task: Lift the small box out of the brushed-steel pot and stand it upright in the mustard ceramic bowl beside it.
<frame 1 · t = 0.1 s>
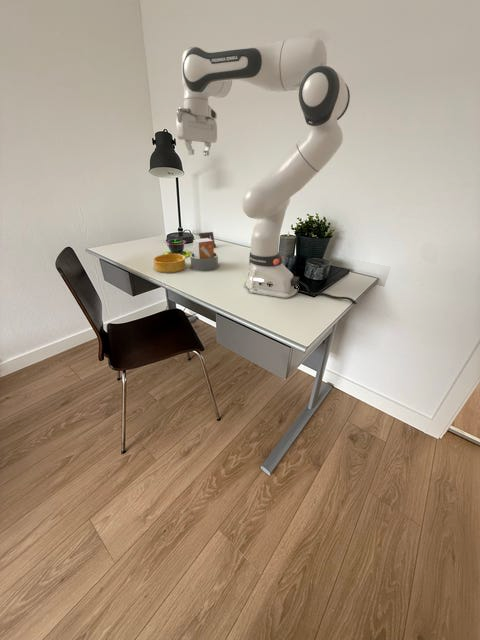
hand: (199, 155, 104), 48 cm above the table, tool pointing down, fingers open, 8 cm apart
pot: (204, 266, 135), on the table
small box: (204, 266, 135), resting on pot
bowl: (170, 268, 133), on the table
tablet stand: (207, 246, 168), on the table
toy cauldron: (177, 254, 153), on the table
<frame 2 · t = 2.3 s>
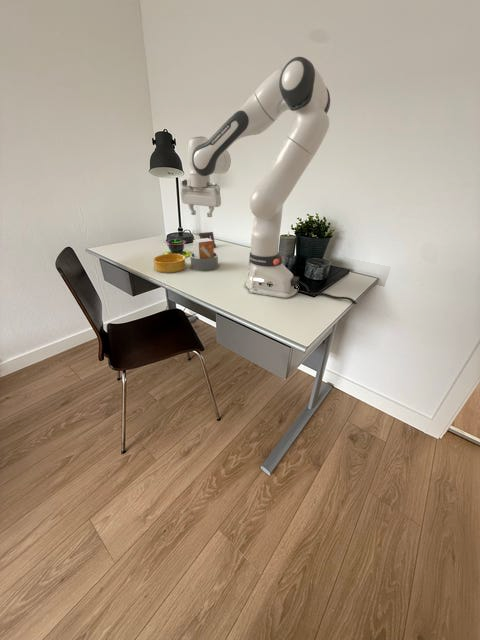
hand: (201, 215, 122), 24 cm above the table, tool pointing down, fingers open, 8 cm apart
nothing on the table moved.
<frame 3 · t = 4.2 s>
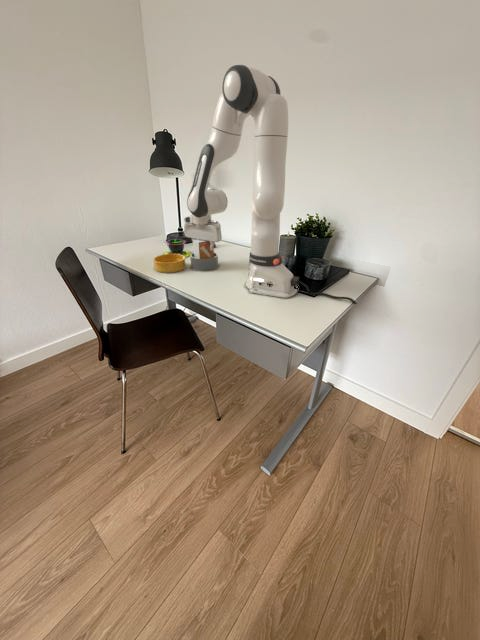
hand: (203, 248, 130), 9 cm above the table, tool pointing down, fingers closed on small box, 7 cm apart
small box: (204, 266, 135), resting on pot, touching gripper
everything else where it was.
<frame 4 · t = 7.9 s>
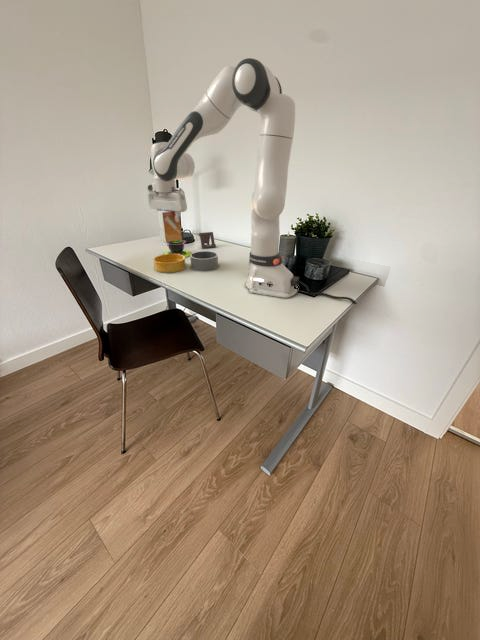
hand: (169, 220, 122), 22 cm above the table, tool pointing down, fingers closed on small box, 7 cm apart
small box: (171, 240, 126), point 13 cm above the table, touching gripper
everything else where it was.
when the fingers open (9 cm above the table, at t = 11.5 s): small box stays where it is, resting on bowl.
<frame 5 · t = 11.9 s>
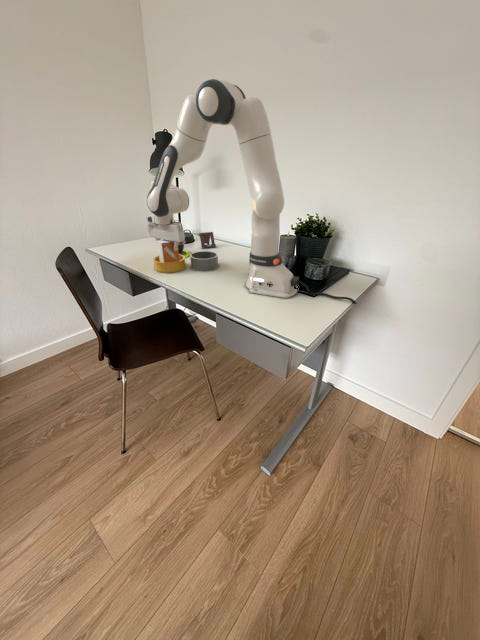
hand: (168, 249, 128), 10 cm above the table, tool pointing down, fingers open, 8 cm apart
small box: (170, 267, 132), resting on bowl
everything else where it was.
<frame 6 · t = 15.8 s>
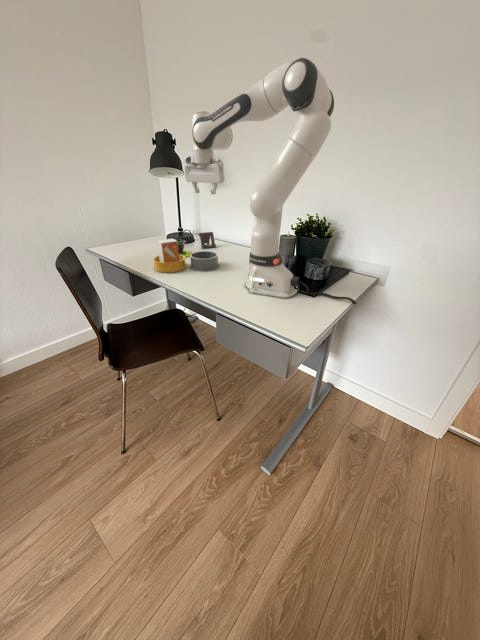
hand: (205, 193, 124), 33 cm above the table, tool pointing down, fingers open, 8 cm apart
nothing on the table moved.
at the end: small box 0.2 cm off-centre in the bowl, point 0.3 cm above the bowl's base; small box tilted 0°; the gripper is holding nothing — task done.
